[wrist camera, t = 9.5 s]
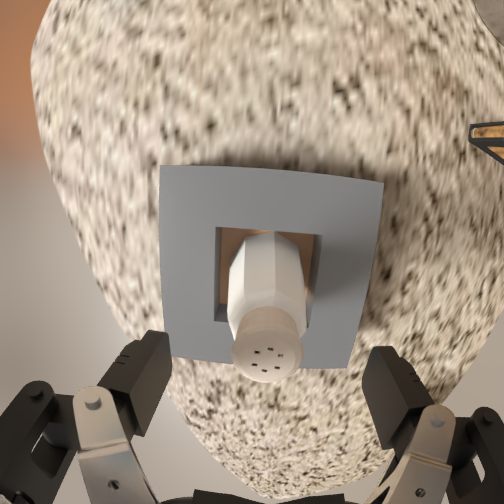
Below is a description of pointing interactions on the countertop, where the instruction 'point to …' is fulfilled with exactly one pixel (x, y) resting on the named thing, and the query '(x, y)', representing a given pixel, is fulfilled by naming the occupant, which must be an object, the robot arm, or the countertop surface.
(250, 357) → the pepper shaker
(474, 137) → the ammunition clip
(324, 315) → the frame
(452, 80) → the countertop surface
